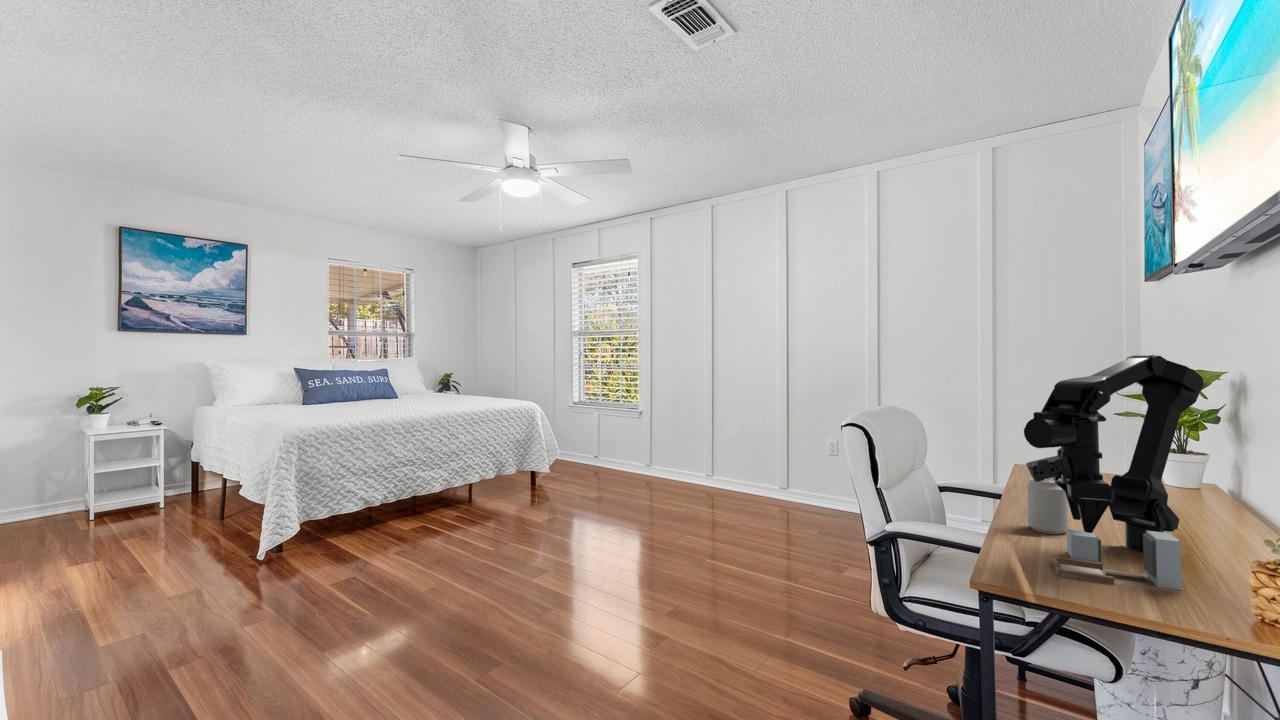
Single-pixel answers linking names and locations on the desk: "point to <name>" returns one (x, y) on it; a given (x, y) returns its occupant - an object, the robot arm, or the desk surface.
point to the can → (1047, 507)
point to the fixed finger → (1162, 559)
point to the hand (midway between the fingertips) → (1082, 525)
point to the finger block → (1083, 545)
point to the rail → (1102, 574)
